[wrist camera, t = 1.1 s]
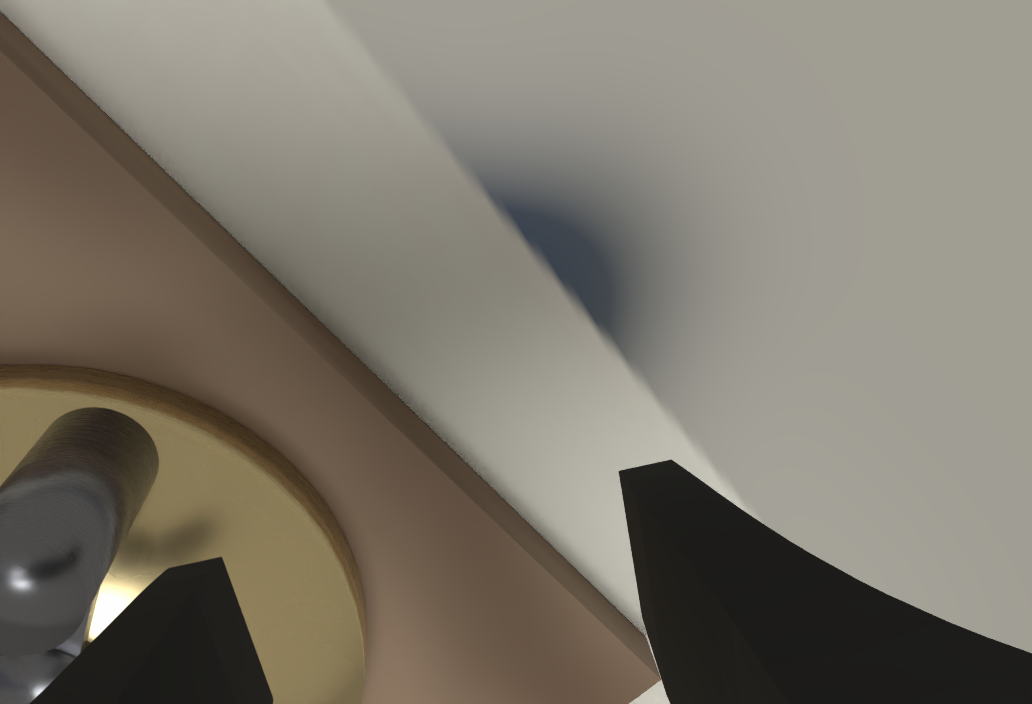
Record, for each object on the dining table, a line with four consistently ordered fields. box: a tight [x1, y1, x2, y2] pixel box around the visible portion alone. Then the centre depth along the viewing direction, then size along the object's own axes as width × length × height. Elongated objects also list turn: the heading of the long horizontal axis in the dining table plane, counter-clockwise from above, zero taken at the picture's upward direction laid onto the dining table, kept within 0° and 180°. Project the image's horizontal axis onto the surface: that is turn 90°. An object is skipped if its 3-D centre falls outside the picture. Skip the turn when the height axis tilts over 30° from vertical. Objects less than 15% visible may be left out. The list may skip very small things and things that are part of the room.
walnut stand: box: [0, 12, 661, 704], centre depth 19 cm, size 14×20×4 cm
